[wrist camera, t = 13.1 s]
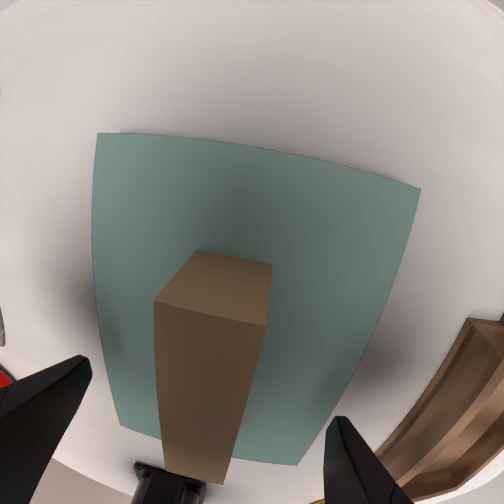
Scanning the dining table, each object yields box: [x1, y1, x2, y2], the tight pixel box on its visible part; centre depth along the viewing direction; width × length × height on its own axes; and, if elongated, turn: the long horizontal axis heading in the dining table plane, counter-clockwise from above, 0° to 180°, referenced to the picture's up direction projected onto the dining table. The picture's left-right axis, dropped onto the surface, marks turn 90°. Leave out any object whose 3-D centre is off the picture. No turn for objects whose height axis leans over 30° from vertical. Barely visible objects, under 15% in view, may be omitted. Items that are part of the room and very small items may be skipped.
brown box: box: [375, 314, 504, 502], centre depth 10 cm, size 22×11×4 cm, turn 170°
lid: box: [92, 133, 421, 485], centre depth 10 cm, size 16×11×5 cm
